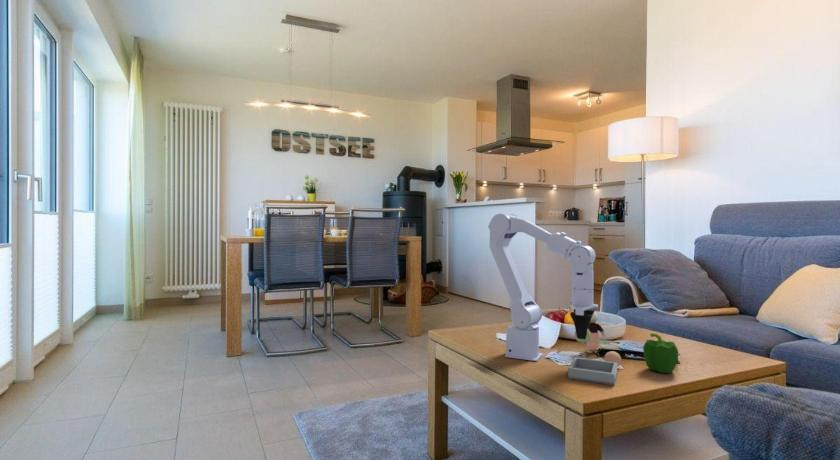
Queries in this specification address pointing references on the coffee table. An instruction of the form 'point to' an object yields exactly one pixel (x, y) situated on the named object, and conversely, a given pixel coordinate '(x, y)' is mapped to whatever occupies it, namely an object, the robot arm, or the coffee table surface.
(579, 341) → the olive ball
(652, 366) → the bell pepper
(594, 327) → the grandmother figurine
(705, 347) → the coffee table surface
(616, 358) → the terracotta ball
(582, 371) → the dish
